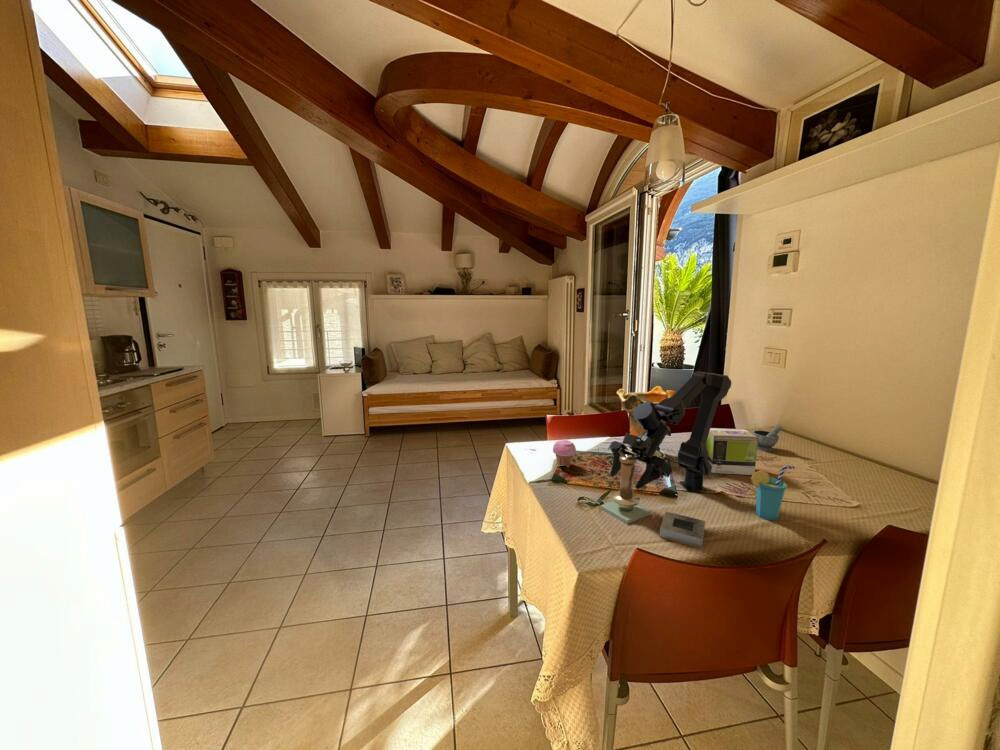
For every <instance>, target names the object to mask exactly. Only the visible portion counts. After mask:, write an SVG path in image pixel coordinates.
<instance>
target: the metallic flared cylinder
mask: <svg viewBox="0 0 1000 750" xmlns="http://www.w3.org/2000/svg"><path fill="white" fill-rule="evenodd" d="M620 462H621V469H620V480H619V483H620V484H619V490H617V491H614V492H612V495H611V496H612V497H611V498H612V501H614V502H615V503H617V504H618V508H619V509H620V510H622V511H626V512H629V511H632V509H633V506H636V505H640V501H641V498H640V496H639V495H638V494H636V493H635V492H634V478H635V464H636V463H637V460H636V457H634V456H632V455H621V456H620Z"/></svg>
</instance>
